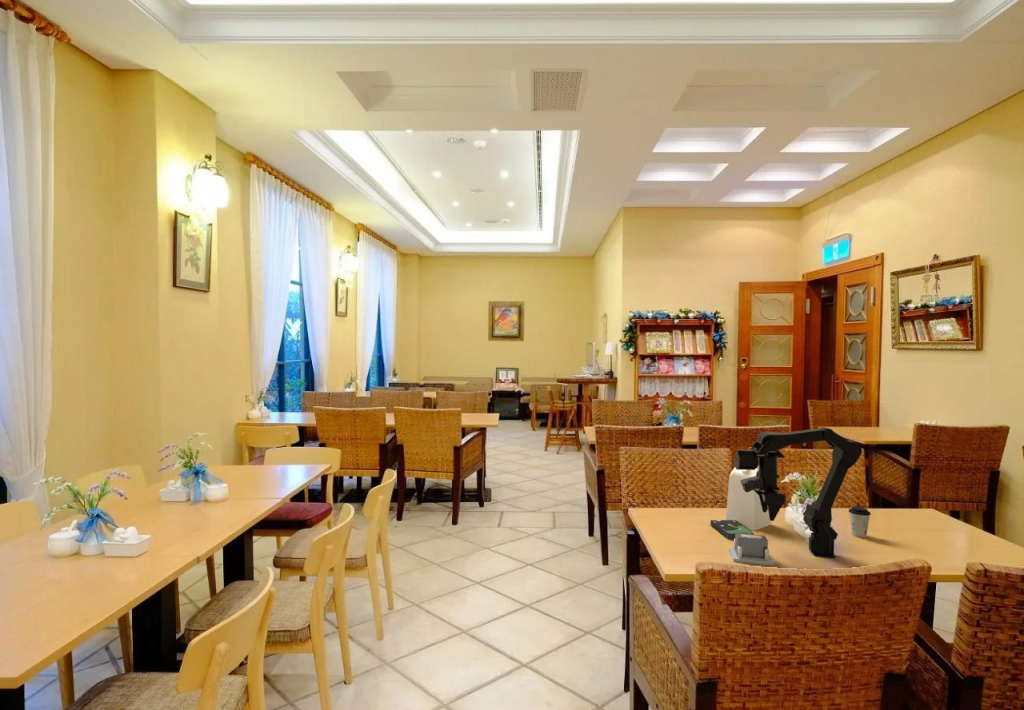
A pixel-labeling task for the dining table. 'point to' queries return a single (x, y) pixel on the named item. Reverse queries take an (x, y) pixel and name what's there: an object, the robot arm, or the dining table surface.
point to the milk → (745, 502)
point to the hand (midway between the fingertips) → (768, 516)
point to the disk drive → (729, 528)
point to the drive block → (751, 545)
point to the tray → (739, 558)
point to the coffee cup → (859, 521)
